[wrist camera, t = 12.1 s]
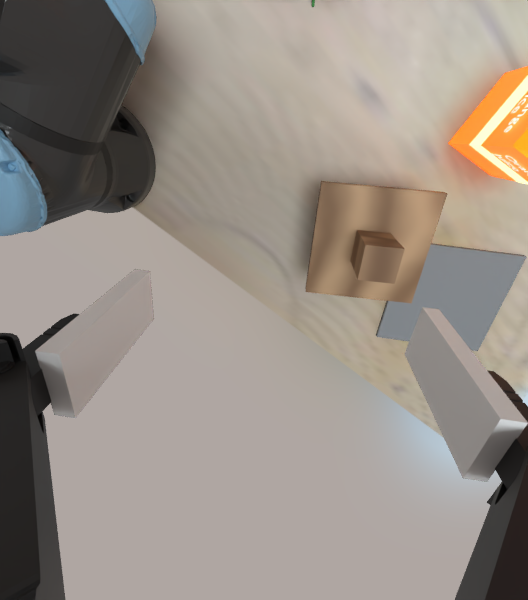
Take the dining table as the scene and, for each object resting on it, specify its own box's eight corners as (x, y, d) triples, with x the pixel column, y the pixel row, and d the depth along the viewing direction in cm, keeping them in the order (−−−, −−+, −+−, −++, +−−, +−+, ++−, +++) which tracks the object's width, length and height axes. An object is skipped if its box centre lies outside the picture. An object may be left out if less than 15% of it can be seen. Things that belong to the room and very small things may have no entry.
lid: (305, 288, 44) (306, 313, 38) (321, 181, 38) (325, 190, 31) (408, 299, 43) (427, 327, 37) (443, 191, 37) (472, 204, 30)
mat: (376, 334, 55) (377, 336, 55) (406, 240, 47) (407, 241, 47) (475, 348, 55) (477, 351, 54) (523, 255, 47) (526, 256, 46)
